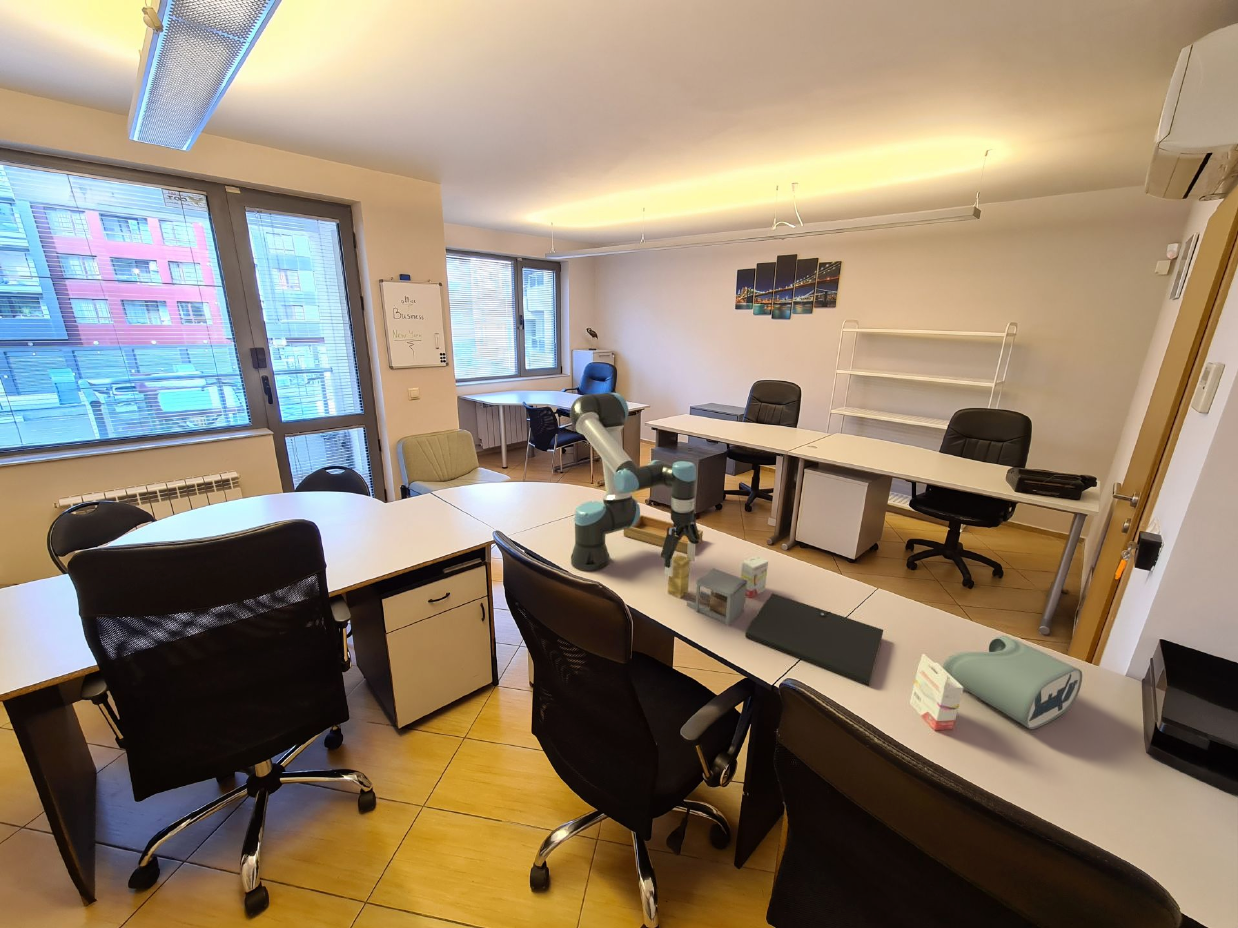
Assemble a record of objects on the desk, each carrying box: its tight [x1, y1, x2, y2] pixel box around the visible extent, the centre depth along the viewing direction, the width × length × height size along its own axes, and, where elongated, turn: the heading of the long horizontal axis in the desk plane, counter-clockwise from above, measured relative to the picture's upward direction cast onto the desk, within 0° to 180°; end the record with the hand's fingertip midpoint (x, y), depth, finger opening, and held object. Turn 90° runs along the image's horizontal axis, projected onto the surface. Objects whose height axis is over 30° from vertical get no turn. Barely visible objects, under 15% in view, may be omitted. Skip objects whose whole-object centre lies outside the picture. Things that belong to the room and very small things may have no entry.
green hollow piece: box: [942, 635, 1083, 730], centre depth 116 cm, size 22×19×13 cm
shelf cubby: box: [686, 567, 747, 627], centre depth 150 cm, size 16×11×11 cm
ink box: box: [740, 555, 769, 599], centre depth 160 cm, size 9×5×12 cm, turn 126°
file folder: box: [745, 593, 884, 687], centre depth 138 cm, size 33×4×24 cm
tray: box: [623, 514, 704, 555], centre depth 201 cm, size 31×15×6 cm, turn 58°
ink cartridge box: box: [909, 653, 964, 731], centre depth 109 cm, size 9×5×15 cm, turn 5°
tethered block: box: [667, 553, 727, 617], centre depth 153 cm, size 22×6×13 cm, turn 50°
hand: (680, 567), depth 158 cm, fingers open, 13 cm apart
